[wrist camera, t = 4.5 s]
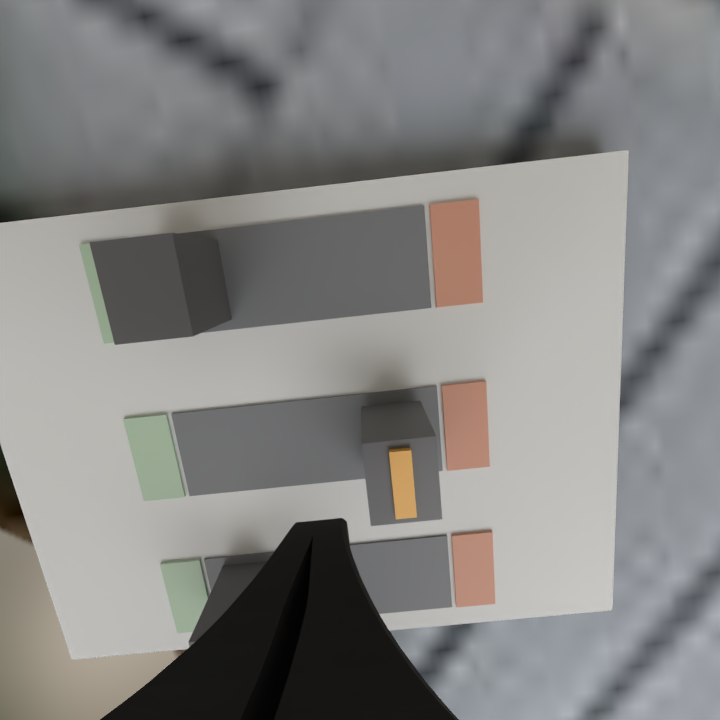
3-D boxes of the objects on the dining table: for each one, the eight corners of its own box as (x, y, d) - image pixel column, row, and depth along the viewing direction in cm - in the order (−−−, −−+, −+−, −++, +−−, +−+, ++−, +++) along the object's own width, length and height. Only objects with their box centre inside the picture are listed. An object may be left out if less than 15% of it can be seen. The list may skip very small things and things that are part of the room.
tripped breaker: (425, 468, 17) (443, 522, 14) (368, 474, 17) (371, 530, 14) (420, 400, 17) (437, 438, 13) (360, 406, 17) (361, 446, 13)
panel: (594, 585, 21) (675, 696, 16) (91, 632, 22) (2, 755, 16) (604, 160, 16) (723, 109, 11) (-33, 233, 17) (-214, 220, 12)
